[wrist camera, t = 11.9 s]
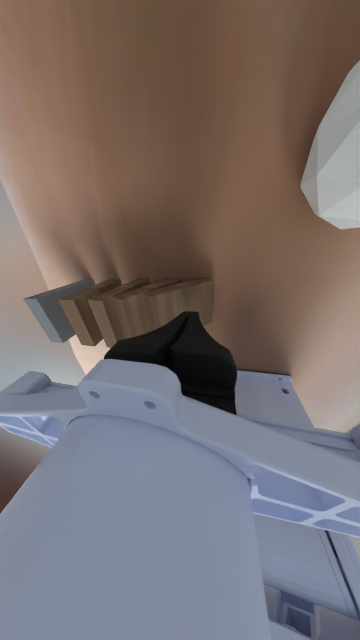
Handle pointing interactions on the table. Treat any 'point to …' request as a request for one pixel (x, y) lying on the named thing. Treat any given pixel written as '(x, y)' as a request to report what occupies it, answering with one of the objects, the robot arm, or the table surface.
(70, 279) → the table surface
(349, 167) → the geometric ball
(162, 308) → the domino
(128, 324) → the domino
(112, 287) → the domino
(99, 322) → the domino
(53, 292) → the domino
